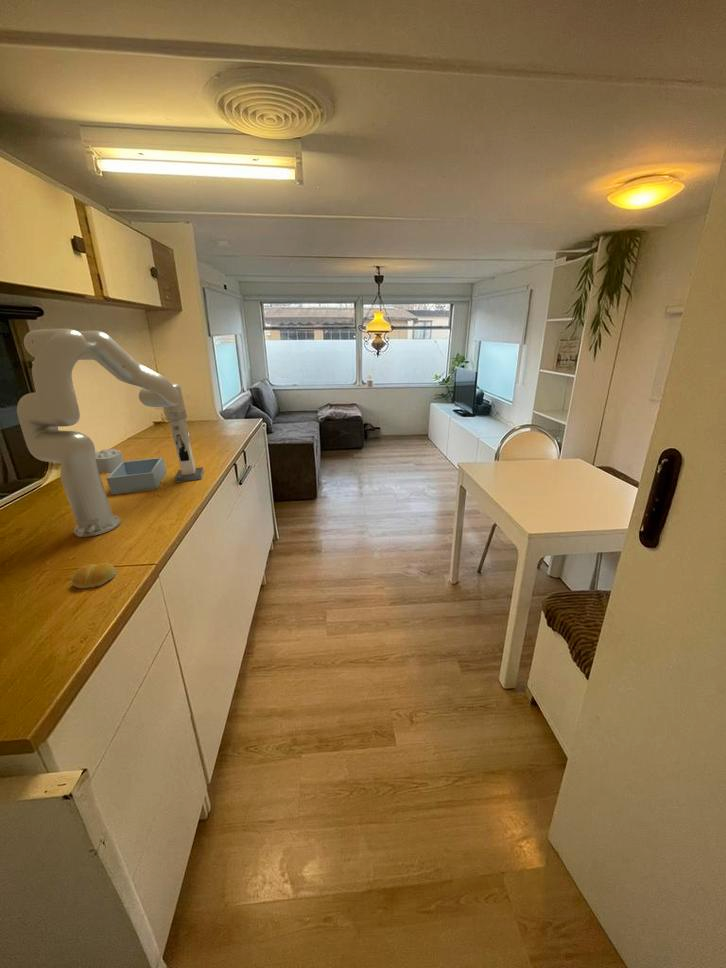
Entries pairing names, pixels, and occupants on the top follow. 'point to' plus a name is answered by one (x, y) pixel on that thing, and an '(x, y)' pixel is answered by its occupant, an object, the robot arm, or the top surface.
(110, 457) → the lumpy-topped squat cylinder
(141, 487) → the bin
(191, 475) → the stud base
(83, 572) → the bread roll
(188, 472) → the strut
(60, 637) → the top surface
